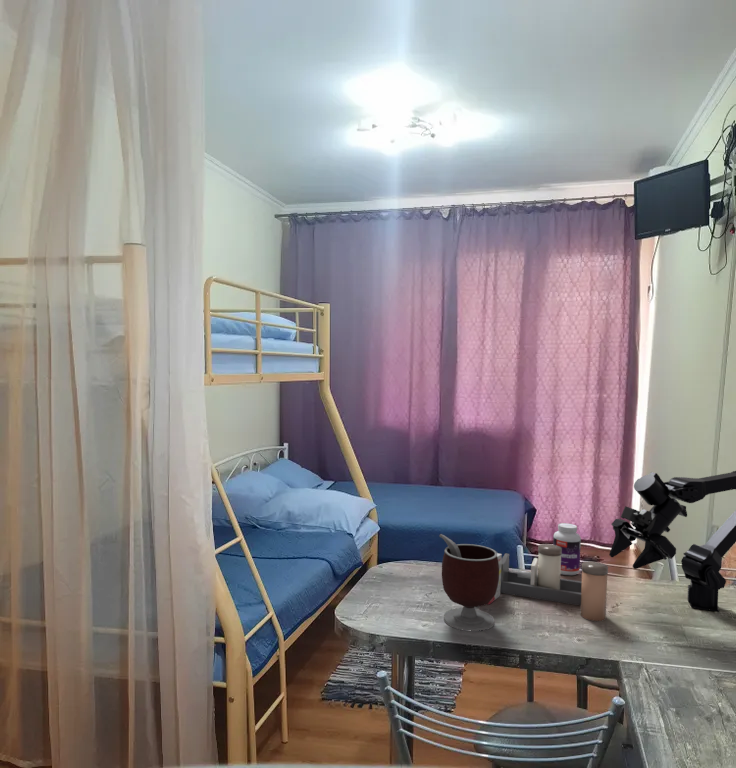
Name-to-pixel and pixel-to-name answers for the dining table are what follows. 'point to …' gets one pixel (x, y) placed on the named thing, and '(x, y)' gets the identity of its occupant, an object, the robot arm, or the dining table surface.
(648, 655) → the dining table surface
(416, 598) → the dining table surface
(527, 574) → the pusher
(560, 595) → the grey jar rack
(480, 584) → the mate gourd
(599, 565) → the terracotta jar
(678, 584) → the dining table surface
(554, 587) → the cream jar
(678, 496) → the robot arm
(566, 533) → the pill bottle
